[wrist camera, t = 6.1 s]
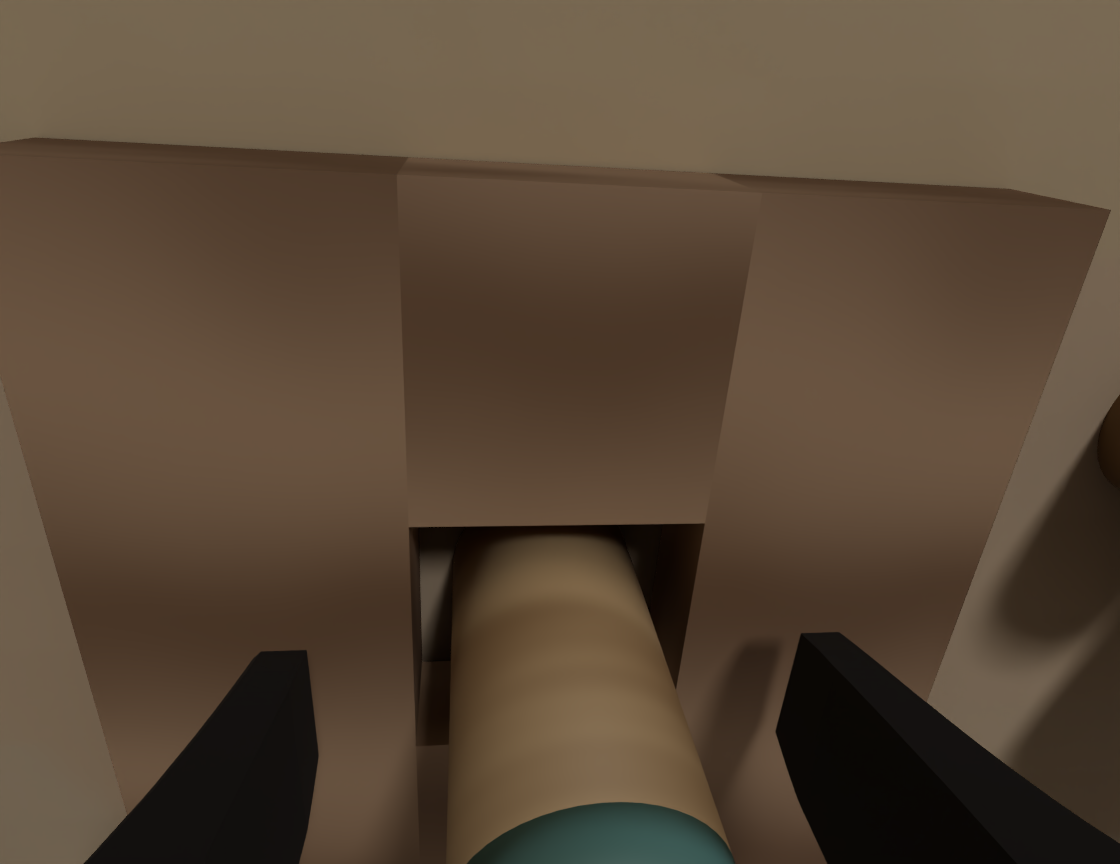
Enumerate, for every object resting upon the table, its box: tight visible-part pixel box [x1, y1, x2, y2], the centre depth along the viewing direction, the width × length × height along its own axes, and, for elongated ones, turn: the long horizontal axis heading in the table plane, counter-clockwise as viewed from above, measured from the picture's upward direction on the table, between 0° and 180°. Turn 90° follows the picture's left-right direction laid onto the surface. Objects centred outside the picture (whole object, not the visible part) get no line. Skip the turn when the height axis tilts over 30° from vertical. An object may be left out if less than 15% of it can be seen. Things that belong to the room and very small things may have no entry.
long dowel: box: [446, 525, 735, 864], centre depth 10 cm, size 3×3×7 cm
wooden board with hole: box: [0, 138, 1111, 864], centre depth 13 cm, size 14×14×2 cm
